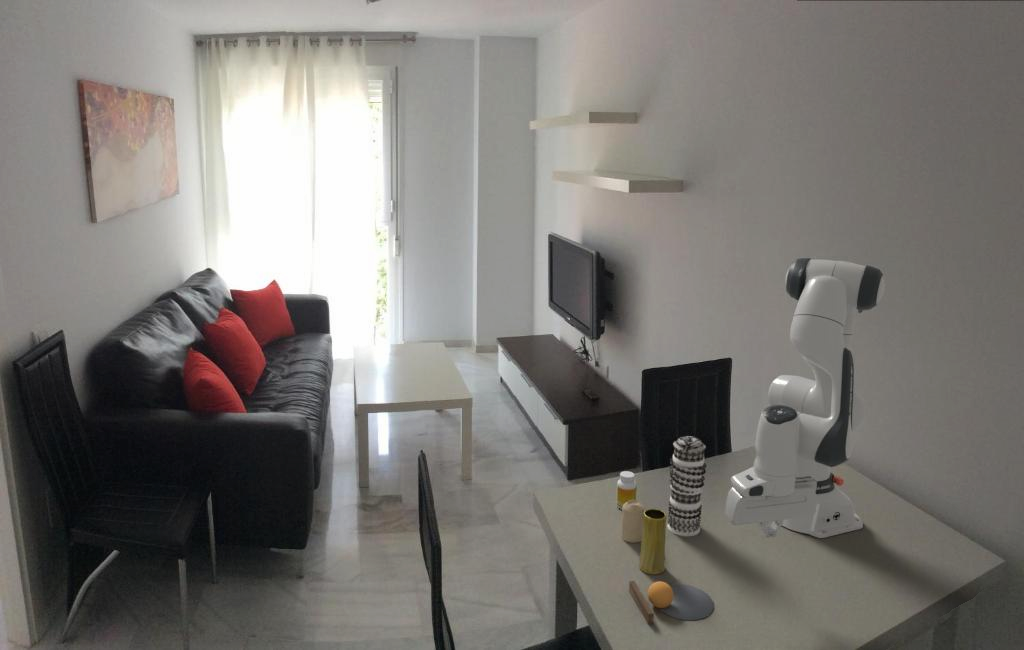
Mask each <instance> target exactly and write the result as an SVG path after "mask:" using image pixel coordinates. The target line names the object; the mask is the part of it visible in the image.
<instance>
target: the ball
mask: <svg viewBox="0 0 1024 650" xmlns="http://www.w3.org/2000/svg"><path fill="white" fill-rule="evenodd" d="M669 585H670V584H668V583H667V582H664V581H660V580H659V581H655V582H654V583H652V584H651V585H649V588H648V591H647V596H648V597H647V598H648V601H649V602H650V604H652V605H653V606H654V607H656V608H657V609H659V608H665V607H667V606H669V605H670V604H671V602H672V600H673V591H672V588H671V587H670V586H669Z"/></svg>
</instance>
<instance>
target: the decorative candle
mask: <svg viewBox="0 0 1024 650" xmlns="http://www.w3.org/2000/svg"><path fill="white" fill-rule="evenodd" d="M672 445H673V454H672V456H671V458H670V459H669V464H670V465H671V466H670V467H669V469H670V472H669V478H670V479H669V484H670V485H669V487H670V489H671V492H670V496H669V497H670V498H669V500H668V513H667V520H666V523H667V524H666V526H667V527H666V528H667V529H668V531H670V533H672V534H675V535H677V536H681V537H693V536H696V535H698V534H699V533H700V530H701V528H700V527H701V521H702V520H701V519H702V516H701V515H702V497H701V496H702V493H703V491H704V486H705V484H704V483H705V482H704V481H705V480H706V478H705V476H704V475H705V474H706V473H707V472H706V471H707V470H706V468H707V464H706V462H705V450H706V448H707V447H706V444H704V443H703V442H702V440H701V439H699V438H698V437H695V436H691V435H685V436H680V437H678V438H677V440H675V441H673V443H672Z"/></svg>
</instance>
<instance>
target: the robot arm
mask: <svg viewBox="0 0 1024 650" xmlns="http://www.w3.org/2000/svg"><path fill="white" fill-rule="evenodd" d="M784 278H785V279H784V281H785V289H786V290H785V291H786V293H787V294H788V295H789V296H790V298H793V299H794V300H796V301H797V304H796V307H795V309H794V314H793V317H792V320H791V321H792V322H791V326H790V330H789V341H790V343H791V345H792V347H793V349H794V350H795V352H796V353H797V354H798V355H799V356H801V357H802V359H803V362H805V364H807V366H809V367H810V369H811V370H812V372H813V375H814V378H815V380H814V379H809V378H806V377H803V376H800V375H791V374H781V375H779V376H777V377H776V378H775V379H774V380H773V381H772V382H771V383H770V386H769V388H768V393H767V399H768V402H769V406H767V407H765V408H763V410H762V411H761V414H760V416H759V420H758V423H757V424H758V425H757V429H756V435H755V436H756V437H755V446H754V447H755V452H756V453H755V456H756V457H755V459H754V460H753V466H751V467H749V468H747V469H746V470H743V471H741V472H739V473H737V474H734V475H733V476H731V477H730V484H731V486H732V487H731V488H730V489H729V490H728V493H727V497H726V501H725V502H726V503H725V510H724V514H725V517H726V519H727V520H728V521H729V522H730V523H731V524H732V525H734V526H742V525H751V524H752V525H753V524H758V526H759V527H760V529H761V531H760V536H761V537H762V538H763V539H770V538H777V537H778V531H779V529H781V527H785V528H786V529H789V530H790V531H791V530H792V531H795V532H797V533H802V534H807V535H809V536H811V537H812V536H813V537H815V538H818V539H824V538H829V537H833V536H837V535H840V534H845V533H850V532H853V531H857V530H861V529H863V525H864V523H863V521H862V519H861V518H860V517H859V515H857V513H855V507H854V502H852V500H851V498H849V496H847V494H845V493H844V492H843V491H842V490H841V489H839V488H838V487H837V486H839V487H841V486H843V484H844V483H845V482H844V479H843V478H841V477H840V476H838V475H835V474H834V473H833V472H832V471H831V470H832V468H833V467H838V466H840V465H842V464H844V463H846V462H848V461H849V459H850V457H851V455H852V452H853V448H854V437H853V434H854V433H856V432H857V431H859V430H860V429H861V428H862V427H863V426H864V423H865V422H866V419H867V414H868V413H867V406H866V403H865V400H864V399H863V398H862V397H861V396H860V394H859V393H858V392H857V390H856V388H855V387H854V386H855V385H854V379H855V377H854V376H855V375H854V373H855V372H854V371H855V366H854V365H855V364H854V357H853V354H852V351H851V347H852V340H853V336H854V330H855V325H856V310H857V312H858V314H861V313H863V311H868V310H871V309H873V308H875V307H877V305H878V304H879V302H880V301H881V299H882V297H883V296H884V293H885V290H886V289H885V286H886V283H885V278H884V274H883V272H882V271H881V270H880V269H879V268H877V267H874V266H871V265H862V264H858V263H854V262H850V261H846V260H844V261H843V260H831V259H830V260H829V259H812V258H810V257H803V258H797V259H795V260H793V262H791V264H790V266H789V268H788V269H787V271H786V274H785V277H784ZM835 485H837V486H835ZM769 522H772V523H771V525H770V526H768V525H769V524H768V523H769Z"/></svg>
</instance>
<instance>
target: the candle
mask: <svg viewBox="0 0 1024 650" xmlns="http://www.w3.org/2000/svg"><path fill="white" fill-rule="evenodd" d="M621 511H622V512H621V526H620V527H621V529H620V535H621V536H620V537H621V539H622V540H623V541H624V542H627V543H633V544H635V543H639V542H642V532H643V516H644V511H645V505H643V504H642V503H641V502H639V501H638V500H637V499H636V500H629V501H627V502H626V503H625V504H623V506H622V509H621Z"/></svg>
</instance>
